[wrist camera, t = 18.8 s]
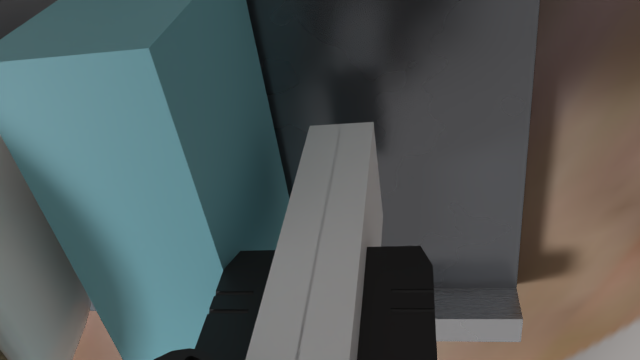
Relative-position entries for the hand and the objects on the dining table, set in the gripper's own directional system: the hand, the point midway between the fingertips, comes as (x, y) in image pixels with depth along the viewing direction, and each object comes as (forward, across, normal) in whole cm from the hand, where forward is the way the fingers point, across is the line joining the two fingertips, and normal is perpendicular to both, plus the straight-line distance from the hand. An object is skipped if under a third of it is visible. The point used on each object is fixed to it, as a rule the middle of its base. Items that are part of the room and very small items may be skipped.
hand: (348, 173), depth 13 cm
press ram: (+1, -4, 0) cm, 4 cm away
